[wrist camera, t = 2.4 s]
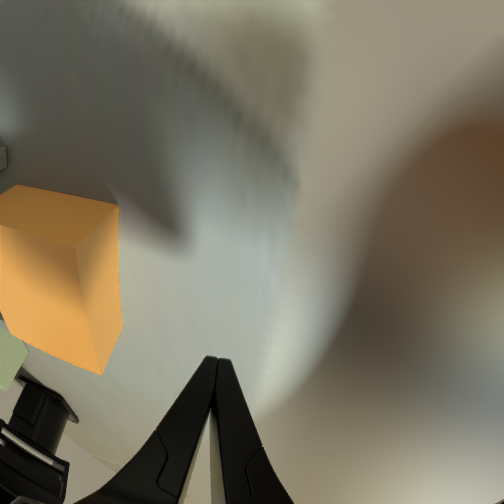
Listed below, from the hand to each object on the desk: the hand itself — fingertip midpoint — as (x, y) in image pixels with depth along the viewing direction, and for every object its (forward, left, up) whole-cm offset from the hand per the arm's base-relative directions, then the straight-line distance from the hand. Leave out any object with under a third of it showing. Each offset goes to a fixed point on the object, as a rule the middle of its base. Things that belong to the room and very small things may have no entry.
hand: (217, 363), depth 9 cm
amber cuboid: (0, +8, -4) cm, 9 cm away
